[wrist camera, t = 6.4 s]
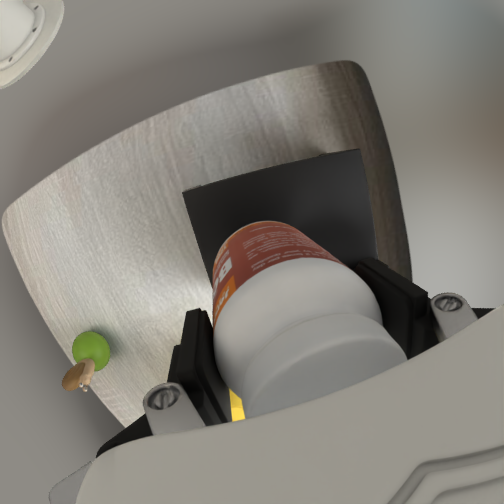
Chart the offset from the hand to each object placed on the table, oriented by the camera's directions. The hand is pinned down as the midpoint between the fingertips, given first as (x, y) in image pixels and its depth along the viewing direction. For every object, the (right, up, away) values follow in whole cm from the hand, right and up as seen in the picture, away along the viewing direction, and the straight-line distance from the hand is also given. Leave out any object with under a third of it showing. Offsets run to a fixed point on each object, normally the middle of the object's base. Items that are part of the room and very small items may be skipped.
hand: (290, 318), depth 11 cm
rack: (+1, +6, +21) cm, 22 cm away
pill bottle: (-1, +2, +6) cm, 6 cm away
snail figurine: (-23, -9, +23) cm, 33 cm away
